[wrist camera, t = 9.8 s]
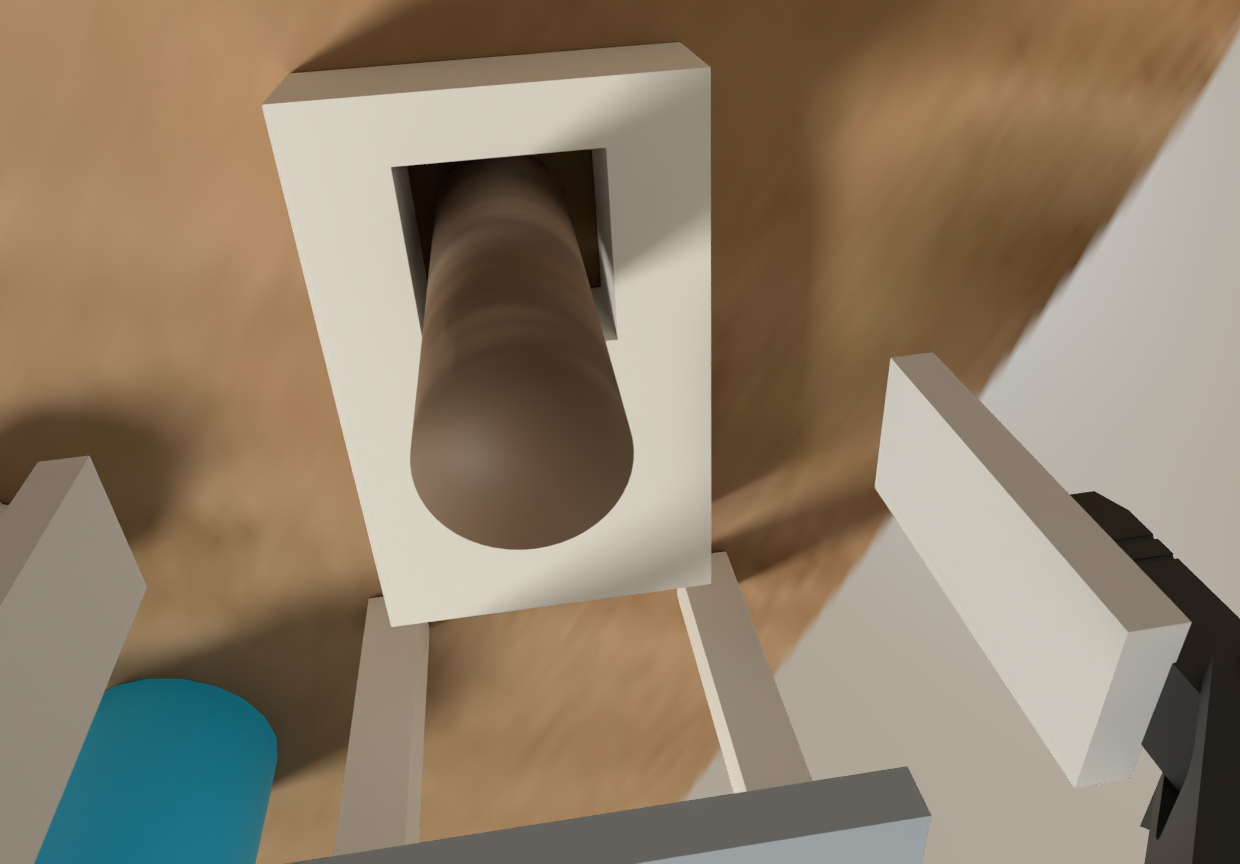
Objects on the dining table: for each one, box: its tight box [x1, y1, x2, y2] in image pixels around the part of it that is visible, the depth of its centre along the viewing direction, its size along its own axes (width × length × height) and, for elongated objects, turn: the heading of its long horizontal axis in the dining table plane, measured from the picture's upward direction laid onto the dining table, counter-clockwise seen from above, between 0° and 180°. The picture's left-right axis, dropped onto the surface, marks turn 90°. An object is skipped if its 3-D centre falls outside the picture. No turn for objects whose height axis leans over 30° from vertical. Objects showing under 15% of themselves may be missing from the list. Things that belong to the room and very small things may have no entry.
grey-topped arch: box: [286, 551, 931, 864], centre depth 27 cm, size 9×14×17 cm, turn 93°
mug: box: [34, 679, 278, 864], centre depth 34 cm, size 12×8×8 cm
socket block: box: [262, 42, 711, 627], centre depth 29 cm, size 17×11×4 cm, turn 3°
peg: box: [410, 155, 634, 550], centre depth 22 cm, size 4×4×14 cm
